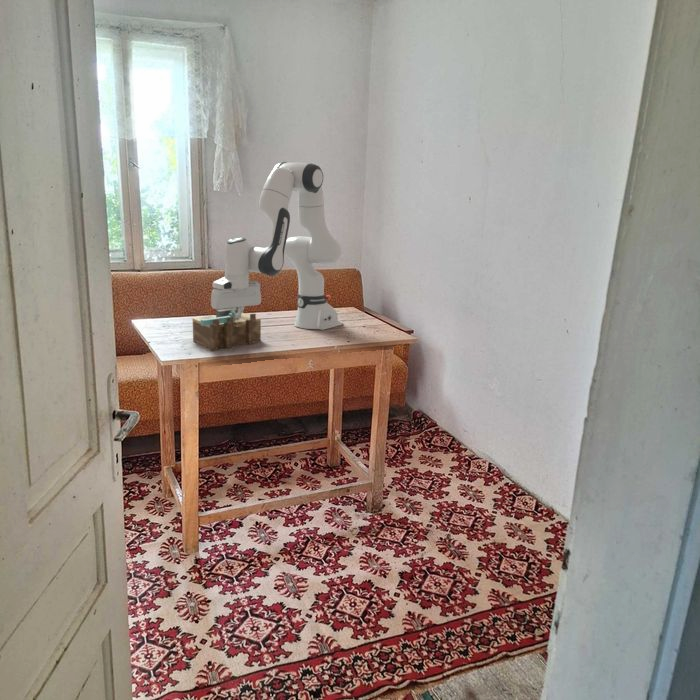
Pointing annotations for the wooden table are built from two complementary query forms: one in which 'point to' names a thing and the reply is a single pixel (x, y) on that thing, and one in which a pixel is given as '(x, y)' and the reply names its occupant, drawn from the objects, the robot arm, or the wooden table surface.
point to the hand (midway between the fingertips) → (236, 318)
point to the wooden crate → (227, 333)
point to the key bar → (221, 319)
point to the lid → (226, 312)
